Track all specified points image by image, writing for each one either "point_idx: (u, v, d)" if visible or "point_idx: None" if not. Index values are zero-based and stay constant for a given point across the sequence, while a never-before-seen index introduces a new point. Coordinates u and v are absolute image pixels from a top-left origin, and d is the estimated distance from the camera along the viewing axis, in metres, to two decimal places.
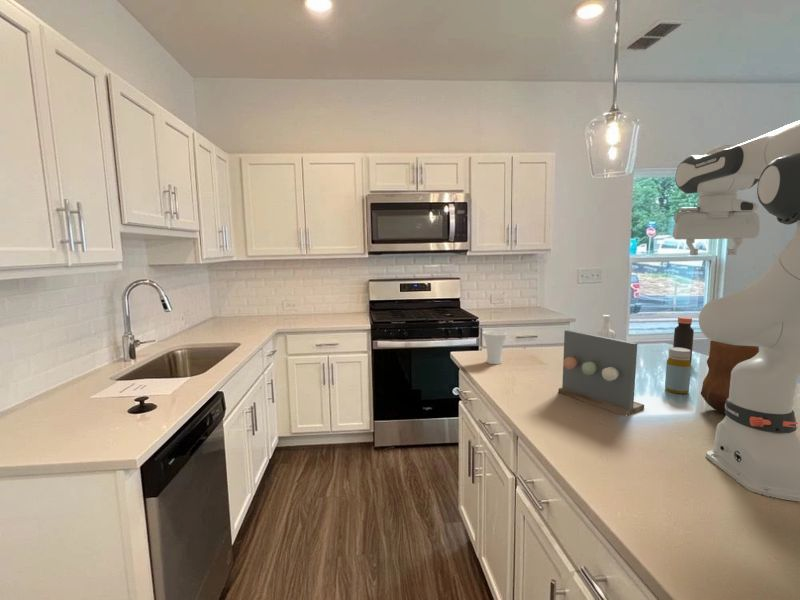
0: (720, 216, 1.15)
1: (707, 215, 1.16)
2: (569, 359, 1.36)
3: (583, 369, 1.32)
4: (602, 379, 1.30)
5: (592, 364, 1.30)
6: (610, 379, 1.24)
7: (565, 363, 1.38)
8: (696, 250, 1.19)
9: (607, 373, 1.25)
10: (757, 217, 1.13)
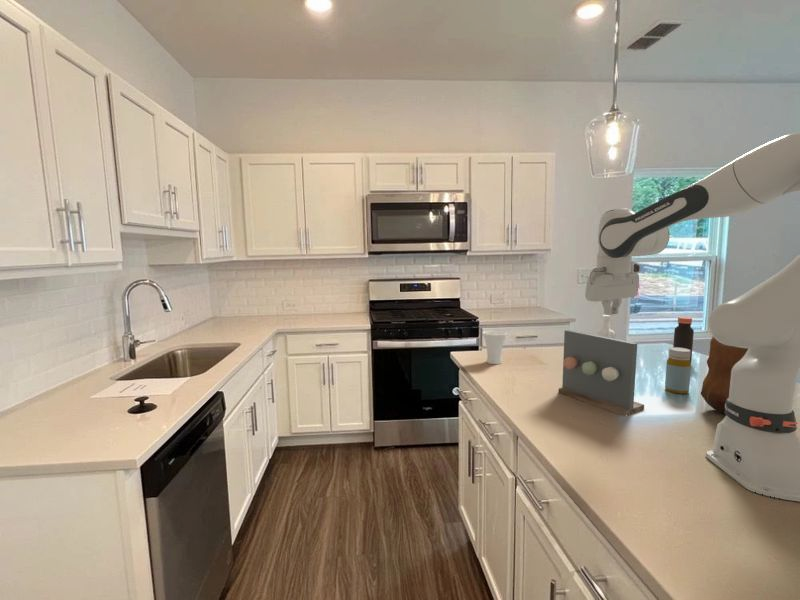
0: (623, 278, 1.15)
1: (613, 276, 1.14)
2: (569, 359, 1.36)
3: (583, 369, 1.32)
4: (602, 379, 1.30)
5: (592, 364, 1.30)
6: (610, 379, 1.24)
7: (565, 363, 1.38)
8: (612, 310, 1.17)
9: (607, 373, 1.25)
10: (638, 278, 1.20)
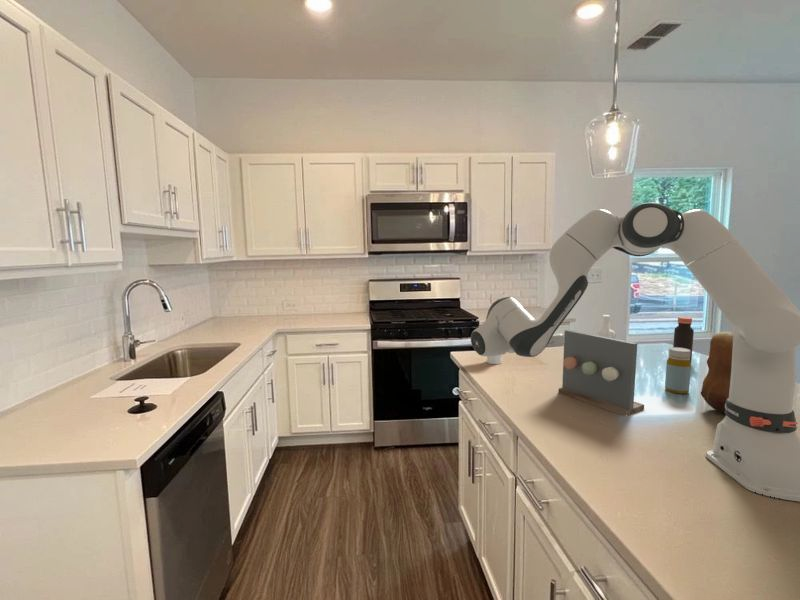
0: None
1: None
2: (569, 359, 1.36)
3: (583, 369, 1.32)
4: (602, 379, 1.30)
5: (592, 364, 1.30)
6: (610, 379, 1.24)
7: (565, 363, 1.38)
8: None
9: (607, 373, 1.25)
10: None
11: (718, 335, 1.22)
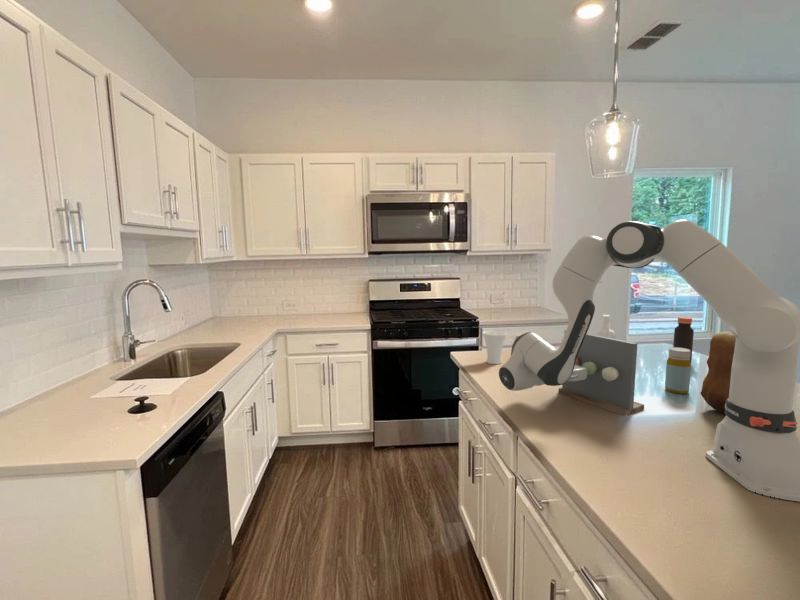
0: None
1: None
2: None
3: None
4: (602, 379, 1.30)
5: (592, 364, 1.30)
6: (610, 379, 1.24)
7: None
8: None
9: (607, 373, 1.25)
10: None
11: (718, 335, 1.22)
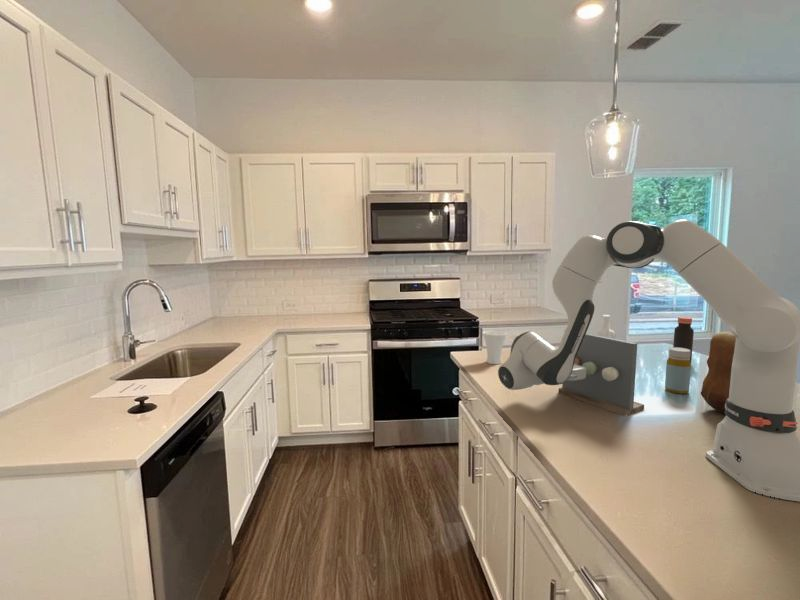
0: None
1: None
2: None
3: None
4: (602, 379, 1.30)
5: (592, 364, 1.30)
6: (610, 379, 1.24)
7: None
8: None
9: (607, 373, 1.25)
10: None
11: (718, 335, 1.22)
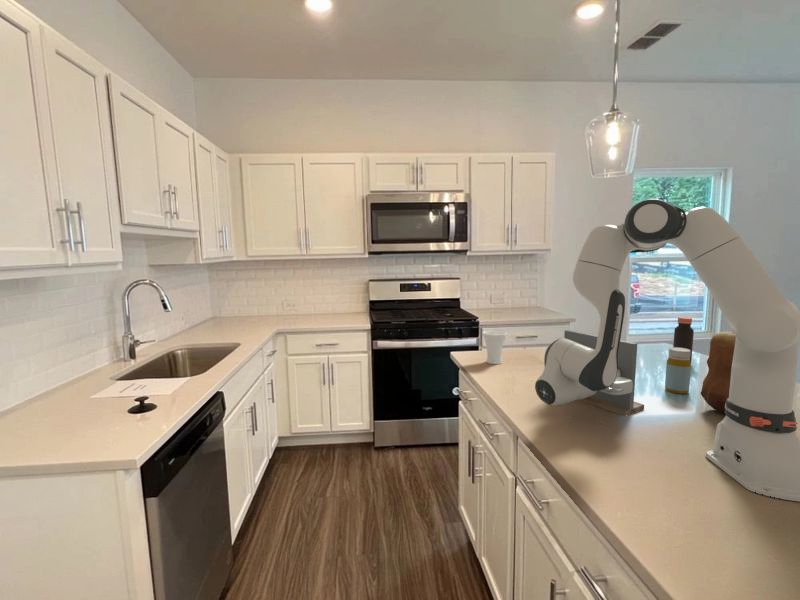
0: None
1: None
2: None
3: None
4: None
5: None
6: None
7: None
8: None
9: None
10: None
11: (718, 335, 1.22)
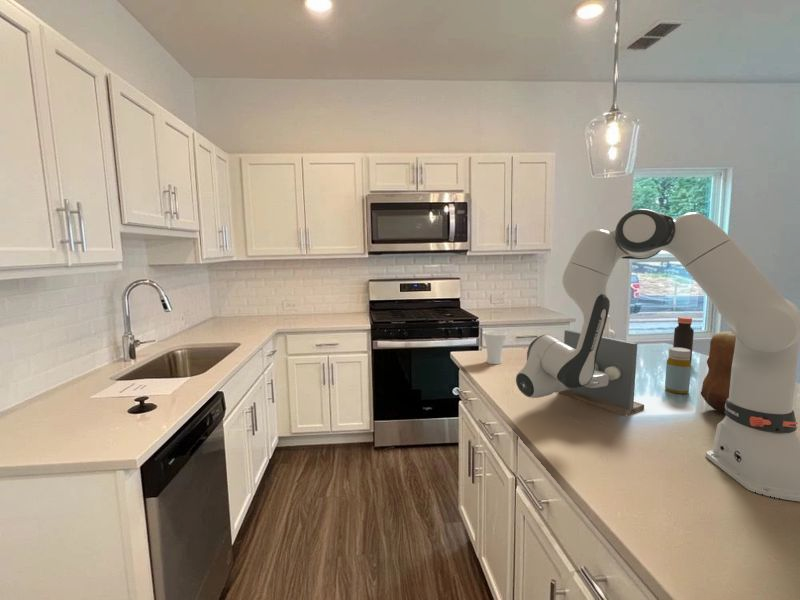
0: None
1: None
2: None
3: None
4: None
5: None
6: (613, 378, 1.25)
7: None
8: None
9: (610, 373, 1.25)
10: None
11: (718, 335, 1.22)
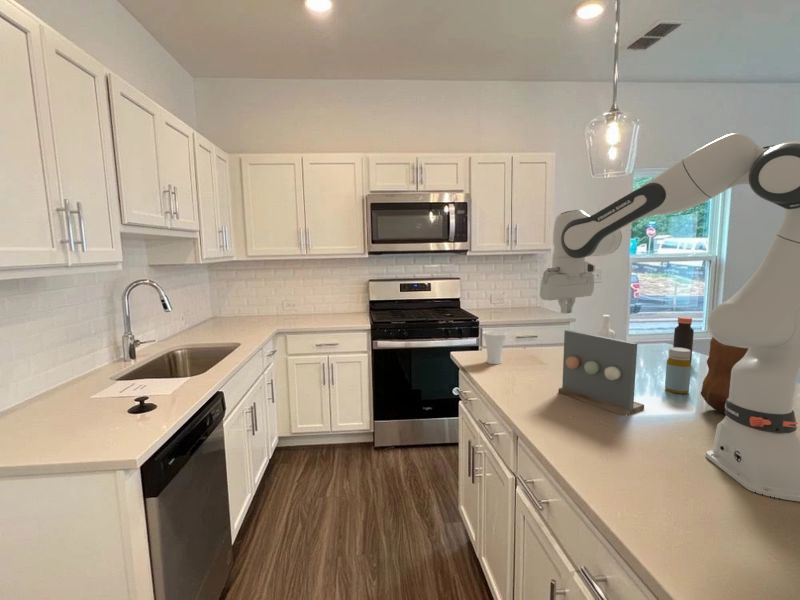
0: (576, 277, 1.18)
1: (567, 276, 1.18)
2: (571, 358, 1.37)
3: (586, 368, 1.32)
4: (602, 379, 1.30)
5: (595, 364, 1.30)
6: (613, 378, 1.25)
7: (567, 362, 1.38)
8: (568, 309, 1.21)
9: (610, 373, 1.25)
10: (593, 277, 1.23)
11: None
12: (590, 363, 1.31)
